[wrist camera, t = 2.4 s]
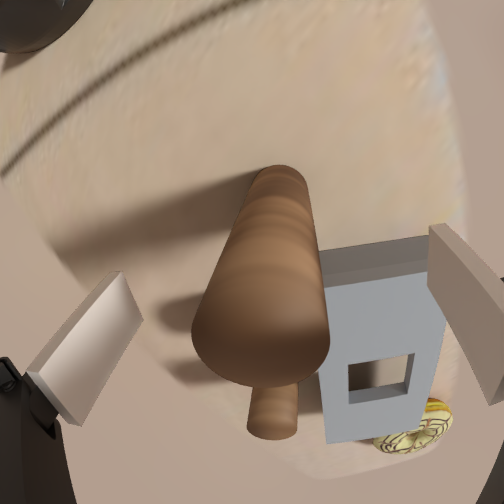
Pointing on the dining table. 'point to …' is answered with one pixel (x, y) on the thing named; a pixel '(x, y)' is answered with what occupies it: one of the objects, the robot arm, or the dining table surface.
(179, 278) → the dining table surface
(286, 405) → the medium dowel
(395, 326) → the bridge
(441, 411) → the decorated donut
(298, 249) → the long dowel
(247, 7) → the dining table surface
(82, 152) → the dining table surface
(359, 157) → the dining table surface
